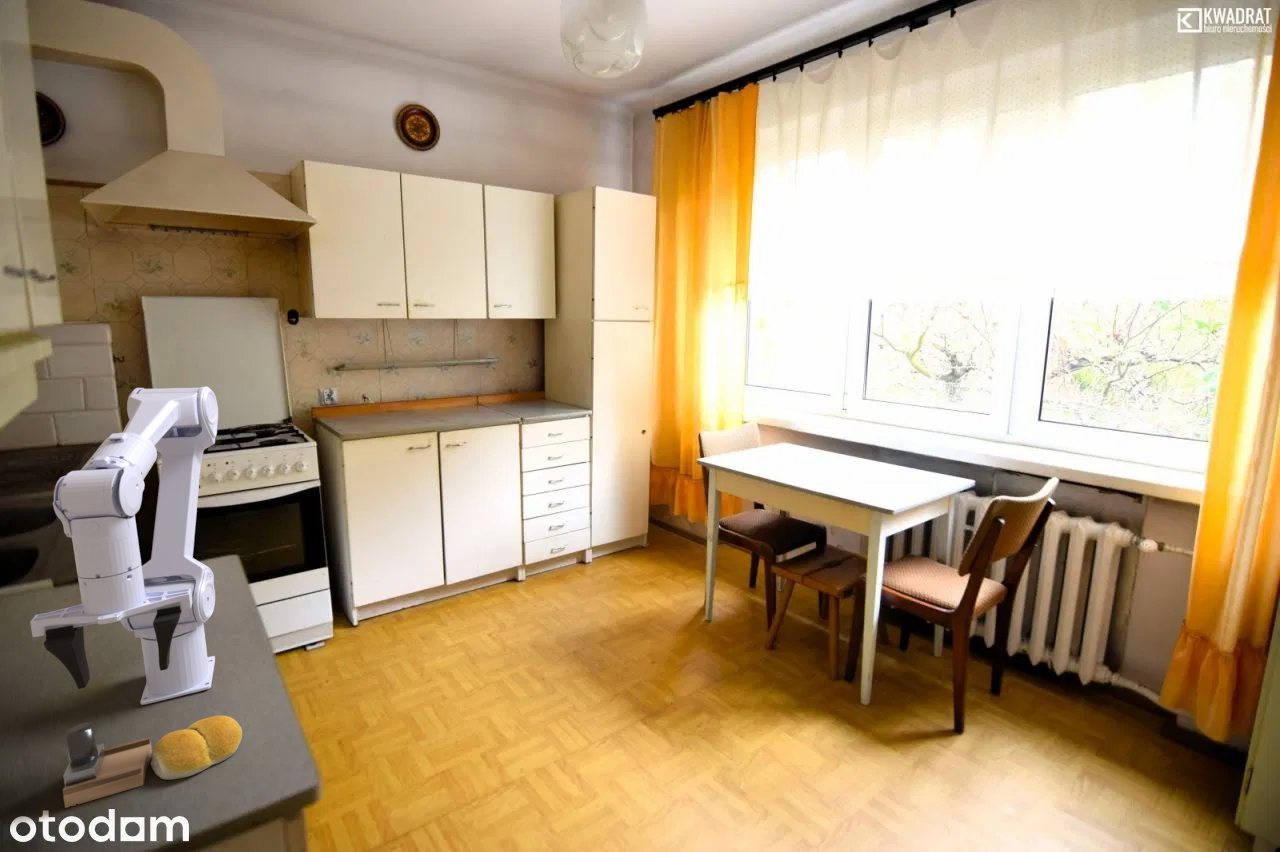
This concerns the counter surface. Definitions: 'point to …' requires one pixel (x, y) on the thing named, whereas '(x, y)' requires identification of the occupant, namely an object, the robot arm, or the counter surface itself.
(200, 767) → the bread roll
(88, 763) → the jaw
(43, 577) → the counter surface
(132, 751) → the press bed
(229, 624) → the counter surface
